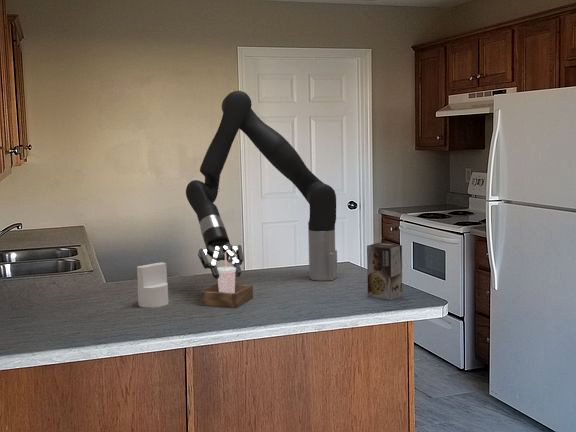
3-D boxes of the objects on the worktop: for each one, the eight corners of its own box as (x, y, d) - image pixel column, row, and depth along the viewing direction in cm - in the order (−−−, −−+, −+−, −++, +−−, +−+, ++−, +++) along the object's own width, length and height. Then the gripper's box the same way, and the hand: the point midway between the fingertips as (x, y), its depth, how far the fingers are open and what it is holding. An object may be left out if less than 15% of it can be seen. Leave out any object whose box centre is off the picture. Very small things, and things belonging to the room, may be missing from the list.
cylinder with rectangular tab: (157, 298, 207) (155, 261, 206) (174, 303, 201) (172, 264, 199) (132, 304, 201) (130, 265, 199) (149, 309, 195) (147, 269, 193)
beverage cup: (213, 299, 200) (211, 253, 198) (222, 294, 205) (220, 250, 203) (231, 300, 197) (230, 254, 196) (240, 295, 203) (238, 250, 201)
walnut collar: (253, 297, 205) (252, 285, 204) (237, 307, 194) (236, 294, 193) (218, 295, 209) (217, 283, 208) (200, 305, 198) (200, 292, 197)
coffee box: (403, 296, 202) (403, 244, 200) (391, 300, 198) (391, 247, 196) (378, 292, 208) (378, 242, 206) (366, 296, 204) (366, 244, 202)
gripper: (194, 227, 202) (208, 272, 193) (238, 223, 208) (253, 267, 199) (189, 241, 208) (203, 286, 199) (232, 237, 214) (247, 280, 205)
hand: (228, 276), depth 199 cm, fingers closed on beverage cup, 6 cm apart
